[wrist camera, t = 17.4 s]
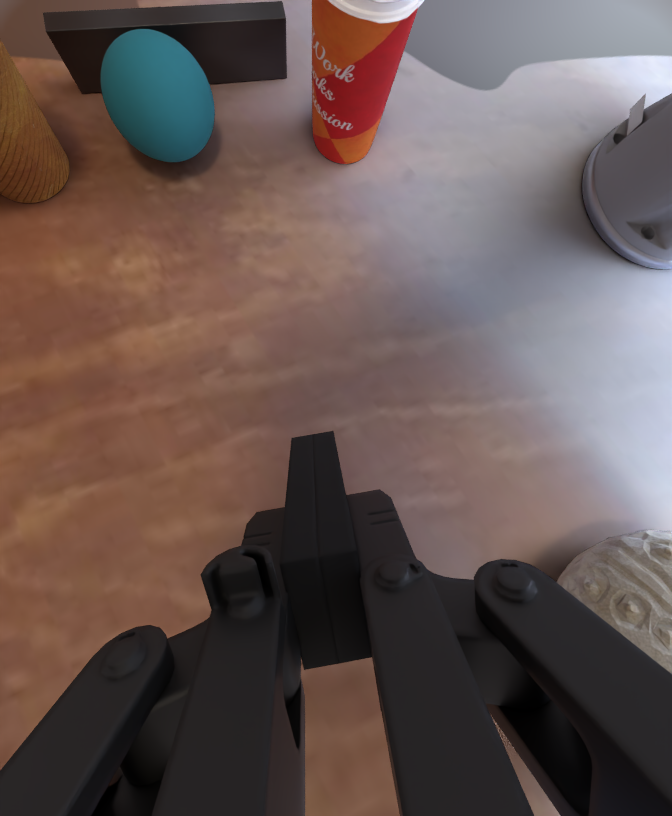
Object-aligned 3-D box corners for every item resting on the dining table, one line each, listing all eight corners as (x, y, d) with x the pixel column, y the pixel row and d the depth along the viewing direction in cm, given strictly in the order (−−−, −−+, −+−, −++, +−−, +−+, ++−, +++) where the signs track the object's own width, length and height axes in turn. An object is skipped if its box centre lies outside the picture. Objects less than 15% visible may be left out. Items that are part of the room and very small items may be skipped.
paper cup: (291, 106, 35) (291, -117, 21) (369, 93, 36) (417, -126, 23) (314, 183, 35) (330, 4, 21) (393, 168, 36) (457, -12, 22)
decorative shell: (517, 515, 33) (613, 542, 23) (699, 524, 35) (859, 551, 25) (517, 741, 31) (623, 876, 21) (711, 737, 33) (892, 859, 23)
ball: (225, 106, 27) (238, 154, 35) (164, -25, 25) (191, 57, 33) (123, 154, 27) (158, 192, 34) (52, 26, 25) (106, 97, 32)
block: (283, 63, 36) (282, 0, 31) (286, 78, 36) (286, 18, 31) (79, 77, 33) (42, 12, 28) (82, 93, 33) (45, 31, 28)
